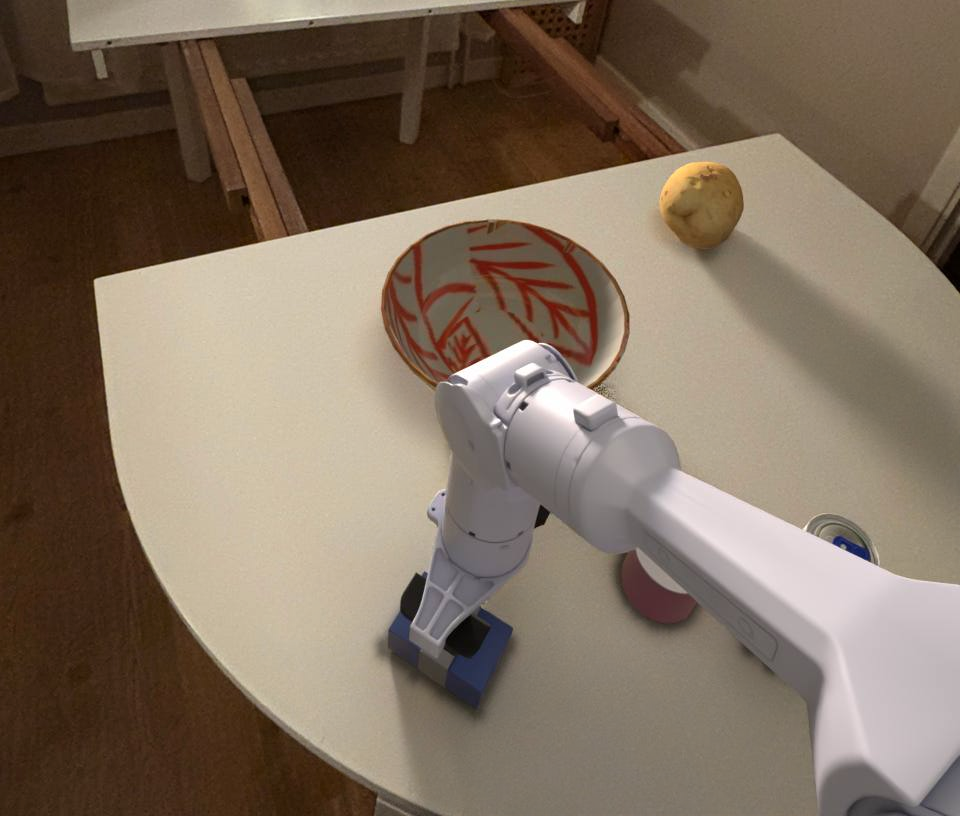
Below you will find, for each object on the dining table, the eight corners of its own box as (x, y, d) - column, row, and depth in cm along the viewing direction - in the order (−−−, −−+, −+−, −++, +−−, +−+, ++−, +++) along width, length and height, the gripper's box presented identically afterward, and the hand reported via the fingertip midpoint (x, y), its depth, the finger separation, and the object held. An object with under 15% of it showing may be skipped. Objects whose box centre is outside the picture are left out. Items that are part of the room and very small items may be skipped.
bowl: (555, 251, 95) (566, 202, 90) (657, 421, 77) (677, 372, 72) (356, 290, 87) (355, 239, 82) (418, 490, 69) (422, 441, 64)
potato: (737, 214, 104) (760, 156, 98) (722, 273, 95) (747, 213, 88) (664, 190, 106) (682, 132, 100) (642, 245, 97) (661, 185, 91)
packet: (508, 645, 60) (514, 626, 58) (476, 711, 56) (481, 693, 54) (422, 589, 62) (424, 569, 60) (386, 648, 59) (387, 629, 57)
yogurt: (712, 614, 63) (735, 581, 59) (639, 635, 61) (657, 603, 57) (675, 535, 68) (694, 500, 64) (607, 553, 66) (621, 518, 62)
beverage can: (810, 624, 63) (887, 537, 54) (795, 683, 60) (875, 600, 50) (750, 588, 65) (815, 497, 56) (732, 642, 61) (798, 556, 52)
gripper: (493, 381, 53) (475, 483, 61) (367, 563, 42) (367, 656, 51) (586, 430, 50) (554, 530, 59) (476, 637, 40) (457, 721, 48)
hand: (473, 593), depth 55 cm, fingers open, 7 cm apart
